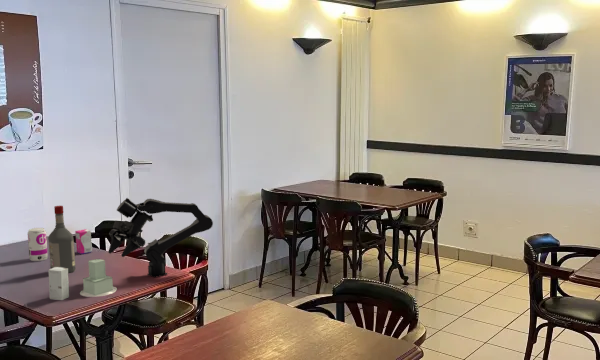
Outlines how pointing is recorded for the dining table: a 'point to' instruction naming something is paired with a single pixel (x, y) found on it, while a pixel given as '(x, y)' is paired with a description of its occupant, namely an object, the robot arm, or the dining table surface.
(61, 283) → the skincare box
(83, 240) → the supplement box
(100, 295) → the plate
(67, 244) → the liquor
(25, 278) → the dining table surface
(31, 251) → the supplement can
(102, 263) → the cover
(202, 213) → the robot arm
